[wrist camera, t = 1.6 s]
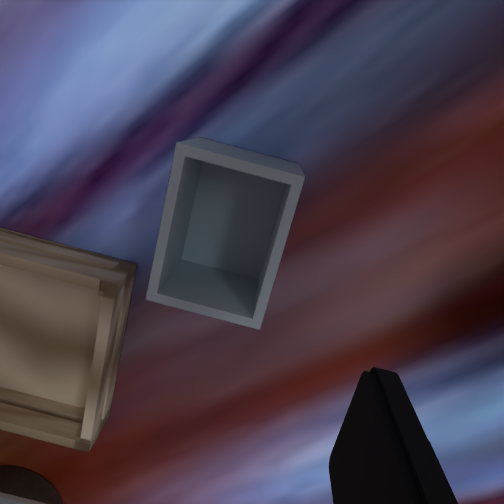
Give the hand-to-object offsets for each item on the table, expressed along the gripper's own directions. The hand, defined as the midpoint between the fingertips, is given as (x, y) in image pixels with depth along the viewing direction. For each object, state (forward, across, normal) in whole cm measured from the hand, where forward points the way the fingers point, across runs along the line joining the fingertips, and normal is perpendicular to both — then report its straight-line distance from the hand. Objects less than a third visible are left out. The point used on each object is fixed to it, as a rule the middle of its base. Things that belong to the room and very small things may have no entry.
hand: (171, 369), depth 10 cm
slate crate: (+16, 0, 0) cm, 16 cm away
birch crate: (+16, +12, +11) cm, 23 cm away
